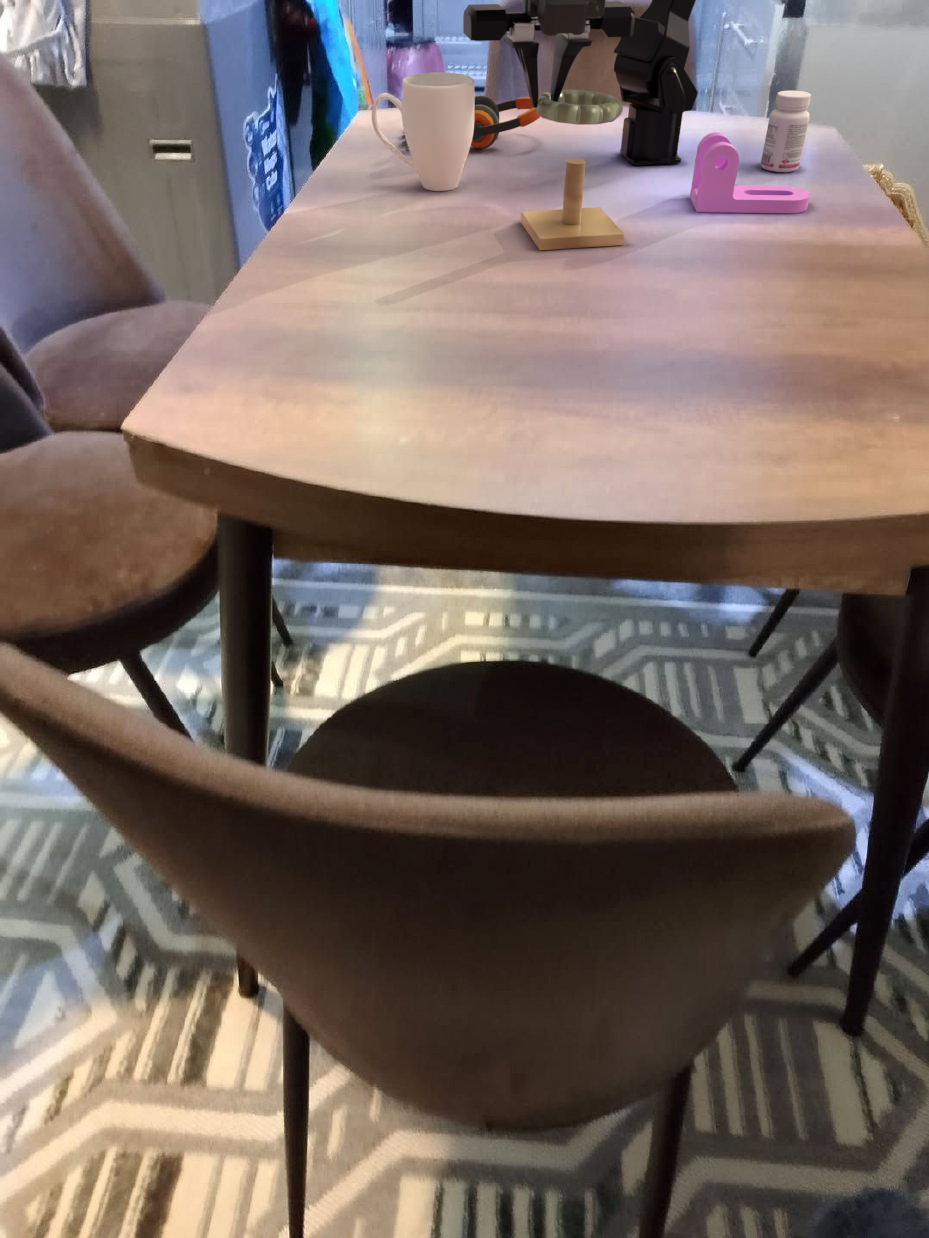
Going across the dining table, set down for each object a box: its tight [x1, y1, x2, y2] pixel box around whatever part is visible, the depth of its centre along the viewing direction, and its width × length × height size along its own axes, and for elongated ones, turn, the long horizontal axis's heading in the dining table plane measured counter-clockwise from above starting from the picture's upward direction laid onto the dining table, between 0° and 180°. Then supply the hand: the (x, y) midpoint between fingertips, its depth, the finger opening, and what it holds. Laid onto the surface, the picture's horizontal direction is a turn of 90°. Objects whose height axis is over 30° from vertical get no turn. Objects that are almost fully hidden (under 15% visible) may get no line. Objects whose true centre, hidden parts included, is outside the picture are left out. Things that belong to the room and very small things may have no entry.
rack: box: [520, 158, 625, 251], centre depth 95 cm, size 9×9×7 cm
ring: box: [534, 89, 624, 126], centre depth 109 cm, size 10×10×2 cm
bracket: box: [689, 131, 811, 214], centre depth 103 cm, size 13×6×7 cm, turn 87°
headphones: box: [401, 94, 542, 152], centre depth 125 cm, size 17×5×20 cm
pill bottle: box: [760, 90, 812, 173], centre depth 114 cm, size 5×5×8 cm
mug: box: [371, 71, 476, 192], centre depth 107 cm, size 12×8×11 cm
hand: (543, 107), depth 108 cm, fingers closed on ring, 2 cm apart
